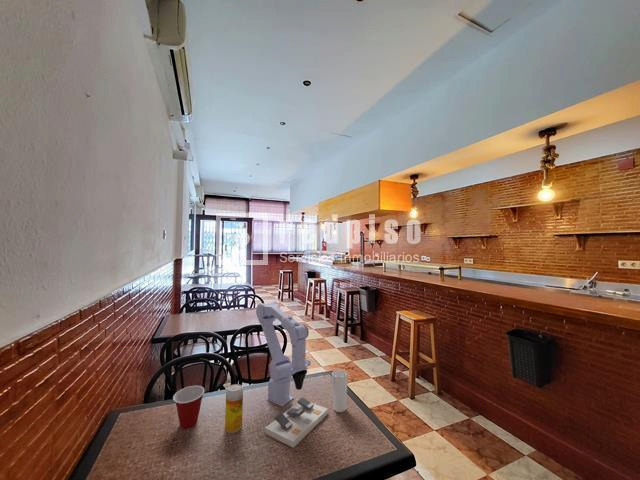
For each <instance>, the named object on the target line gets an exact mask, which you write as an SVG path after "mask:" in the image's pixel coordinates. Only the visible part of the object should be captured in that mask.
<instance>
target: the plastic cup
mask: <svg viewBox="0 0 640 480" xmlns="http://www.w3.org/2000/svg"><path fill="white" fill-rule="evenodd" d="M204 393H205V388H204V387H203V386H201V385H190V386H185V387H184V388H181V389H180V390H177V392H175V394H173V396H172V400H173V401H174V403H175V406H176V411H177V416H178V421H179V422H178V423H179V428H180V429H182V430H189V429H192V428H193V427H195V426H196V425H197V424H198V419H199V415H200V411H201V406H202V405H201V404H202V400H203V396H204Z"/></svg>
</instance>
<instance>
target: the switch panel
mask: <svg viewBox="0 0 640 480" xmlns="http://www.w3.org/2000/svg"><path fill="white" fill-rule="evenodd" d="M311 403H312V404H314V407H313V408H312V409H311V410H307V409H306V408H304V407H303V406H301V405H300V404H298V402H296V403H295V404H294V405H292V406H291V407H290V408H288V410H286V411H285V412H284V413H282V414H283V415H284V416H285V417H286V418H287V419H288V420H289V421H290V422H291V423H292V424H293V425H292V427H290V428H289V429H288V430H287V431H286V430H285V429H284V428H283V427H282V426H281V425H280V424H279V423H278V422H277V421H276V420H275V419H274V420H273V421H272V422H271V423H269V424H268V425H266V426H265V428H264V434H266V435H267V436H269V437H270V438H272V439H273V438H274V439H275V440H278V441H279V442H281V443H283V444H285V445H288V446H289V447H292V448H295V447H296V446H297V445H298V444H299V443H300V442H301V441H302V440H303V439H304V438H305V437H306V436H307V435H308V434H309V433H310V432H311V431H312V430H313V429H314V428H315V427H316V426H317V425H318V424H319V423H320V422H321V421H322V420H323V419H324V418H325V417H326V416H327V415H328V414H329V409H328V408H327V407H324V406H322V405H319V404H317V403H313V402H311ZM291 408H295V409H303V410H304V413H303V414H302V415H300V416H292V415H287V411H289V410H290V409H291Z"/></svg>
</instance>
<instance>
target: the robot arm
mask: <svg viewBox="0 0 640 480" xmlns="http://www.w3.org/2000/svg"><path fill="white" fill-rule="evenodd" d="M280 307H281V306H280V304H279V303H278V301H272V302H265V303H258V304H257V306H256V308H255V309H256V310H255V314H256V317H257V320H258V323H259V324H260V325H261V327H262V332H263V335H264V337H265V341H266V344H267V346H268V350H269V353H270V355H271V359H272V360H271V361H270V363H269V364H268V368H269V376H270V378H269V381H268V384H267V397H266V400H267V401H269V402H271V403H274V404H276V405H279V406H281V407H284V406H285V405H287V403H289V402H290V401H292V400H293V399H295V398H294V396H292V395H291V394H290V393H291V379H292V380H293V381H294V386H295V389H296V390H302V389H303V384H304V380H305V377H306V375H307V374H308V369H309V368H308V366H309V367H310V366H311V360H308V359H306V358H307V357H306V355H307V353H306V351H307V350H306V349H307V348H306V347H307V346H306V345H307V344H306V343H307V340H306V339H307V338H308V337H309V333H310V332H309V328H308V326H307V325H306V324H304V323H303V324H301V323H299V322H298V321H297V320H296V319H294V318H293V316H292V315H286V314H285V313H284V312H283V310H281V308H280ZM276 320H278V321H279V322H280V323H281V325H280V326H281V327H282V328H283V329H284V330H285V332H287V333H288V336H289V339H290V345H291V359H290V357H289V356H286V355H285V354H284V353H283V350H282V347H281V343H280V341H279V338H278V335H277V331H276V330H275V326H274V322H275V321H276Z"/></svg>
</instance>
